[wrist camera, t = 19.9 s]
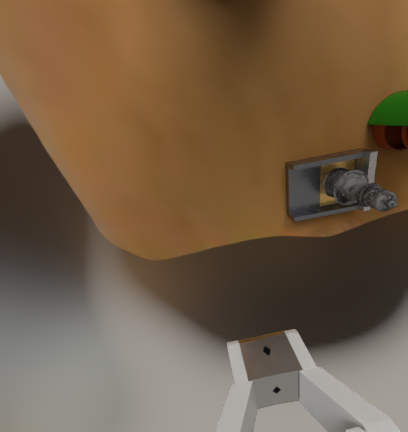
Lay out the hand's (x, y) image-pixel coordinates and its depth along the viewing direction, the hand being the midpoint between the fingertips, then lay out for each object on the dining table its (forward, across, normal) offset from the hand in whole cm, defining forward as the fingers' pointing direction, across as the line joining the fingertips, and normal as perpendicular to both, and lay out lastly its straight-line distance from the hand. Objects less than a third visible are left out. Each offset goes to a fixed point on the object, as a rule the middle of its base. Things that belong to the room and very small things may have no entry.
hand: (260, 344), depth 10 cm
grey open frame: (+31, -21, +5) cm, 38 cm away
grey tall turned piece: (+30, -23, +5) cm, 38 cm away
